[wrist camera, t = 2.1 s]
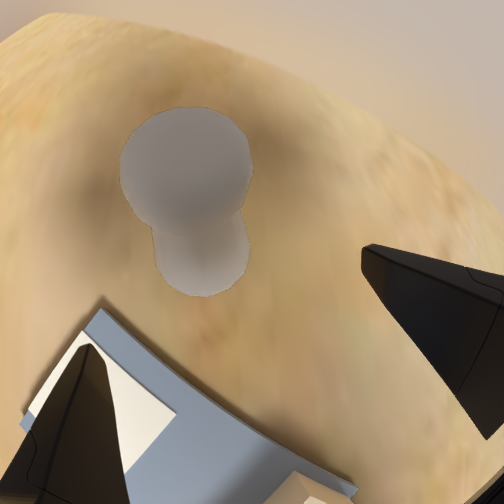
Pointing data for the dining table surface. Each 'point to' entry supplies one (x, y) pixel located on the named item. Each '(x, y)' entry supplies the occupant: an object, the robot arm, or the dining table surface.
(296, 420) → the dining table surface
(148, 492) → the board
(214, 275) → the salt shaker
